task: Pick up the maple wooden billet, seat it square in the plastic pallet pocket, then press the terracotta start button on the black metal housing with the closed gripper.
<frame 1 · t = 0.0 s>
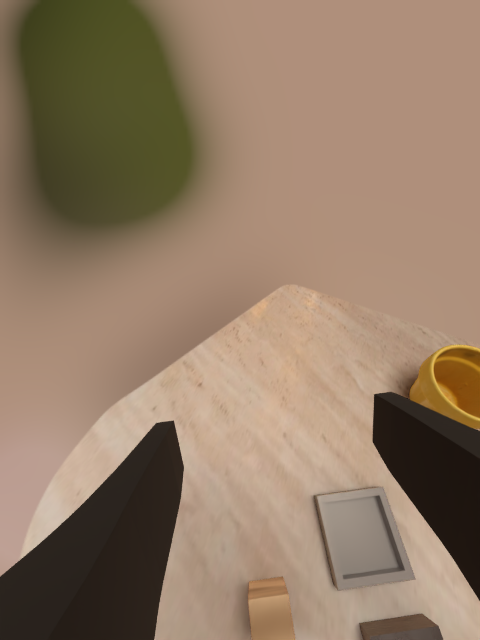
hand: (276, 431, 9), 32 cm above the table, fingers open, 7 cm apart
plant pot: (431, 402, 41), on the table
billet: (268, 603, 29), on the table
pallet pocket: (357, 532, 32), on the table
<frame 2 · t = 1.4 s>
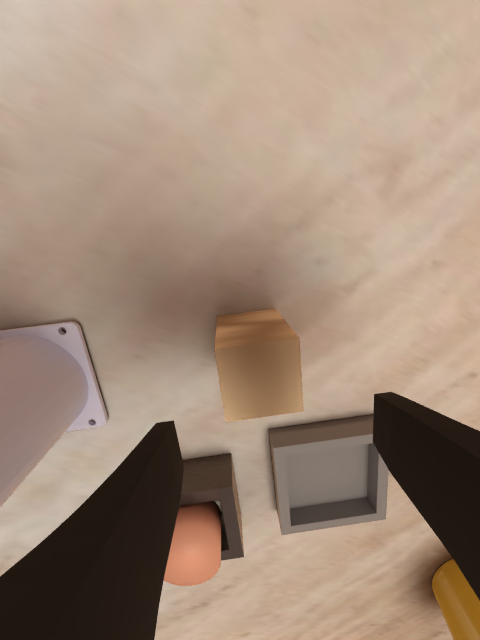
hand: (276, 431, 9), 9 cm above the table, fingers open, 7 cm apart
plant pot: (458, 573, 27), on the table
billet: (249, 339, 18), on the table
pallet pocket: (323, 464, 22), on the table
start button: (190, 538, 18), point 4 cm above the table, slide at 0.0 cm
button housing: (195, 493, 22), on the table
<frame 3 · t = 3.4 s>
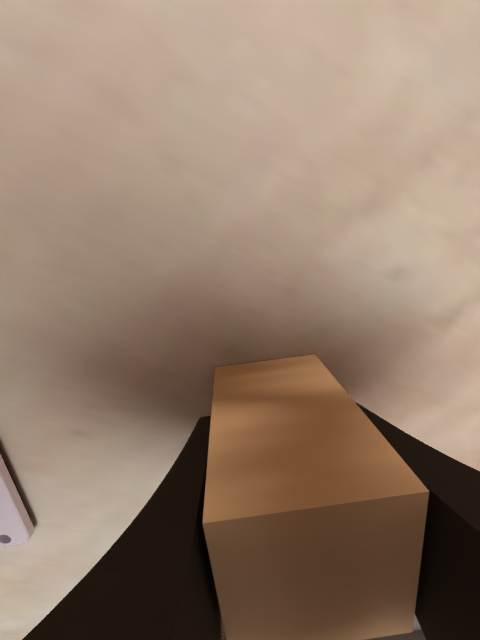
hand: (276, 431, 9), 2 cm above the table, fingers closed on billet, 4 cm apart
billet: (269, 404, 11), on the table, touching gripper
pallet pocket: (376, 581, 14), on the table
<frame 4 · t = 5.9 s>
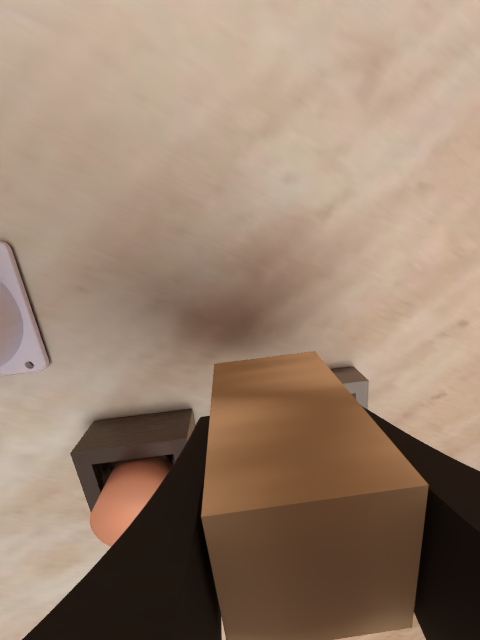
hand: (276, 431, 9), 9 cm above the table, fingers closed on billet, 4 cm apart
billet: (268, 401, 11), point 7 cm above the table, touching gripper
pallet pocket: (296, 424, 20), on the table
start button: (138, 497, 16), point 3 cm above the table, slide at 0.0 cm
button housing: (153, 454, 20), on the table
when the fingers open (3 cm above the table, at t = 8.5 s): billet drops 1 cm, resting on pallet pocket.
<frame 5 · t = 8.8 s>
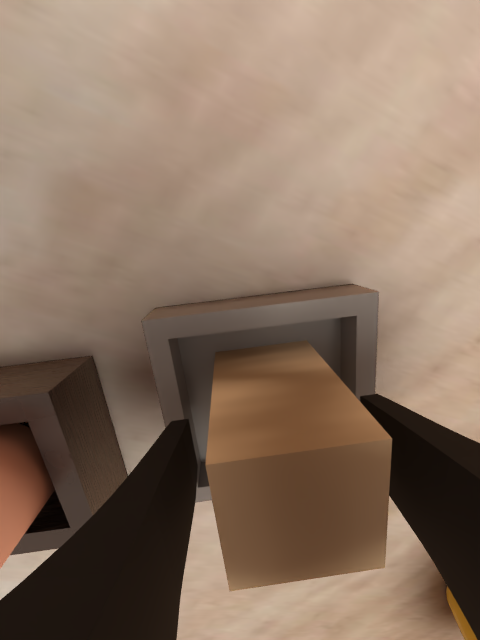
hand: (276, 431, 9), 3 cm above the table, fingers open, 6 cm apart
billet: (265, 386, 12), point 1 cm above the table, touching pallet pocket
pallet pocket: (263, 383, 12), on the table
button housing: (38, 431, 12), on the table
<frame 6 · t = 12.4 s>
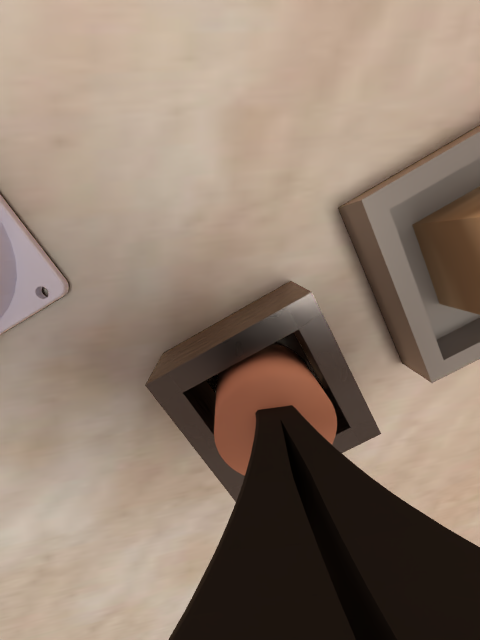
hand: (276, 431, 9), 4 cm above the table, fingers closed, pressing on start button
billet: (468, 242, 11), point 1 cm above the table, touching pallet pocket
pallet pocket: (458, 246, 12), on the table
start button: (269, 406, 11), point 3 cm above the table, slide at 0.8 cm, touching gripper
button housing: (260, 374, 13), on the table
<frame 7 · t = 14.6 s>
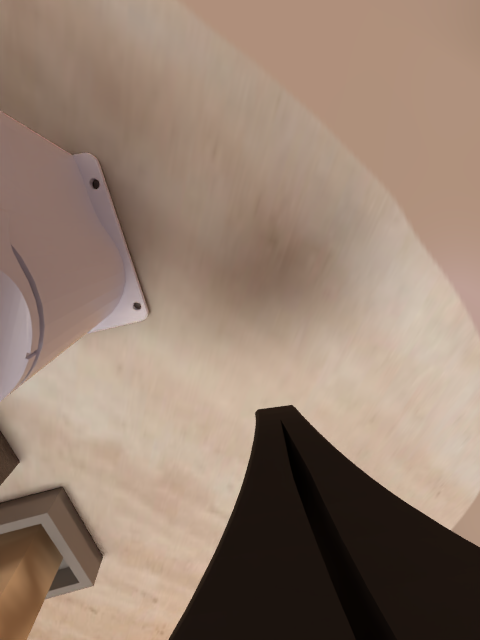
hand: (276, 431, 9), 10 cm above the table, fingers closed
billet: (29, 545, 21), point 1 cm above the table, touching pallet pocket
pallet pocket: (31, 538, 21), on the table
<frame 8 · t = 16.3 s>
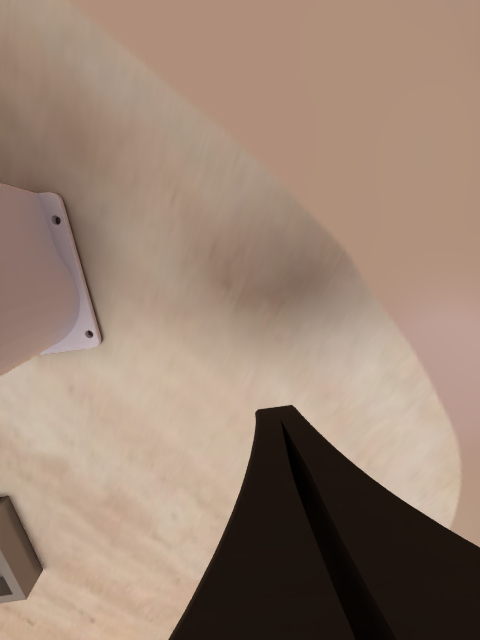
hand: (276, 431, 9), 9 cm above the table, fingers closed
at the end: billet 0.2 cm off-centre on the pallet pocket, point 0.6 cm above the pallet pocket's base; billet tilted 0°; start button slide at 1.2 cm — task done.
